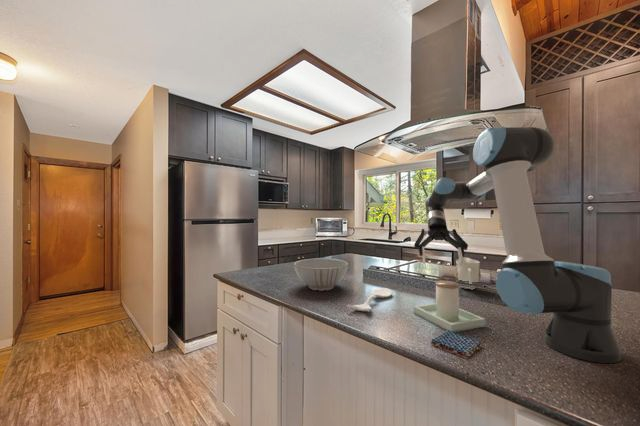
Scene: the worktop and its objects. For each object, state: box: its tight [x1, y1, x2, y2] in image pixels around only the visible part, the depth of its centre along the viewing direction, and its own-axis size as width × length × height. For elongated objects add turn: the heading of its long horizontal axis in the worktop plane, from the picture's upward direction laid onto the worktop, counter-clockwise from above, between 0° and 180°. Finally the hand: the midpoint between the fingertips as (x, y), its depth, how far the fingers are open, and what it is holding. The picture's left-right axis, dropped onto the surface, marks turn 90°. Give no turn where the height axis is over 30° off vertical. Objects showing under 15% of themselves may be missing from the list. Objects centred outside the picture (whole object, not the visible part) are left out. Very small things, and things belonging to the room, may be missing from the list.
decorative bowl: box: [293, 258, 349, 292], centre depth 139 cm, size 27×27×12 cm
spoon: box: [346, 287, 393, 312], centre depth 116 cm, size 9×32×4 cm, turn 149°
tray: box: [413, 302, 486, 333], centre depth 98 cm, size 18×14×2 cm
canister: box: [435, 280, 460, 322], centre depth 98 cm, size 7×7×12 cm
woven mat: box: [430, 330, 483, 359], centre depth 79 cm, size 10×11×2 cm
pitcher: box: [454, 256, 482, 284], centre depth 135 cm, size 11×18×14 cm, turn 160°
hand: (442, 262), depth 110 cm, fingers open, 13 cm apart
